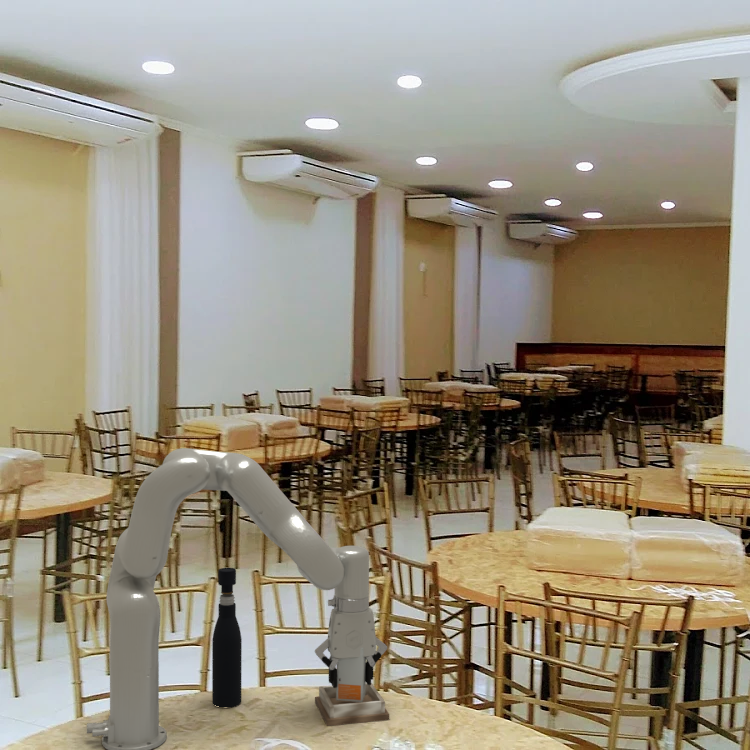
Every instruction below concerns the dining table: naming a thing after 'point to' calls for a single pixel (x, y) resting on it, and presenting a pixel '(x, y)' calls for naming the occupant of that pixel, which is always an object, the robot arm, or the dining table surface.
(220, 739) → the dining table surface
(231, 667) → the black water bottle
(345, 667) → the skincare box
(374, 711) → the square brown tray
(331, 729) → the dining table surface
